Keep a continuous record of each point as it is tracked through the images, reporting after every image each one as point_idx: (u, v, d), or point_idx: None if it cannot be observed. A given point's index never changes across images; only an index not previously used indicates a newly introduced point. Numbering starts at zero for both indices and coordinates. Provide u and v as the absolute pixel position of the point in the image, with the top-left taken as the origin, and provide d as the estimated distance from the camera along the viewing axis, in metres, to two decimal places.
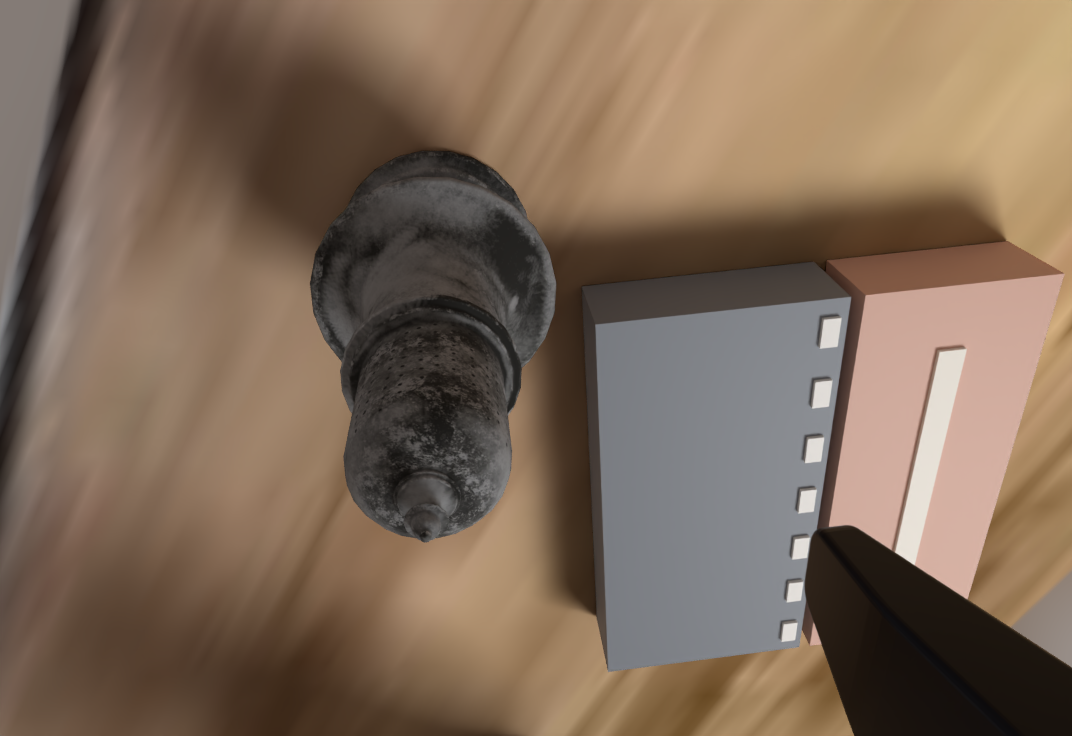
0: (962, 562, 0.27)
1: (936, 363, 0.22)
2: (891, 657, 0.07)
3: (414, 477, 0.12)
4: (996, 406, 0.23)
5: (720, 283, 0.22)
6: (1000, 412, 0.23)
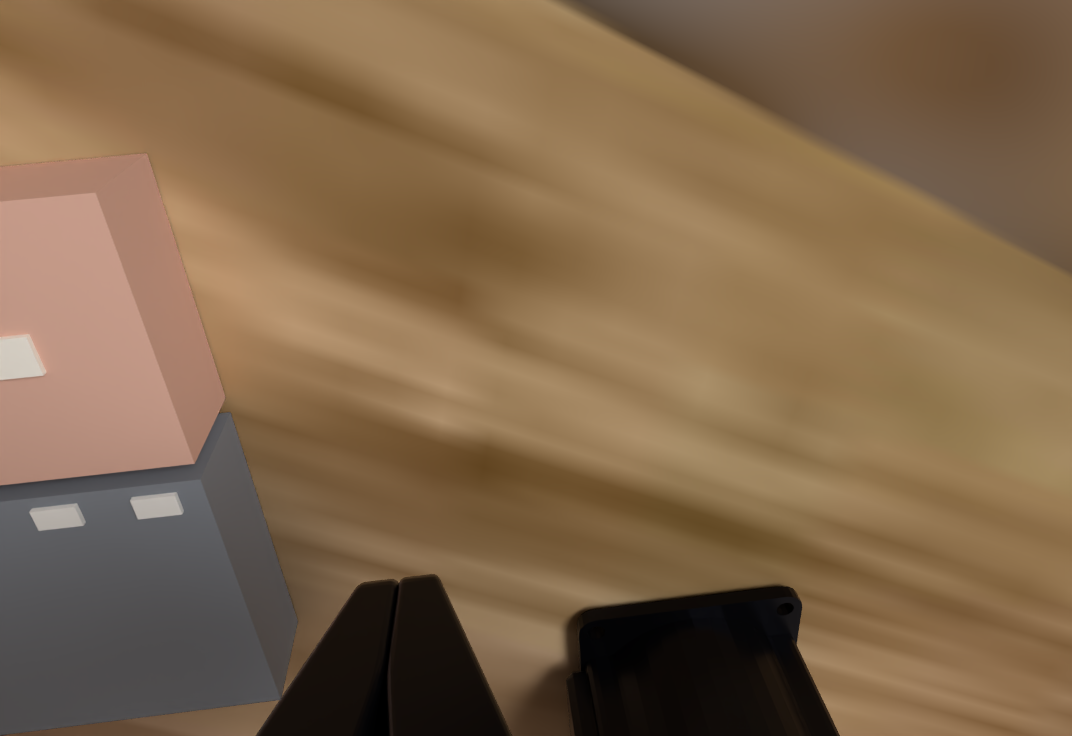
0: None
1: None
2: None
3: None
4: None
5: None
6: None
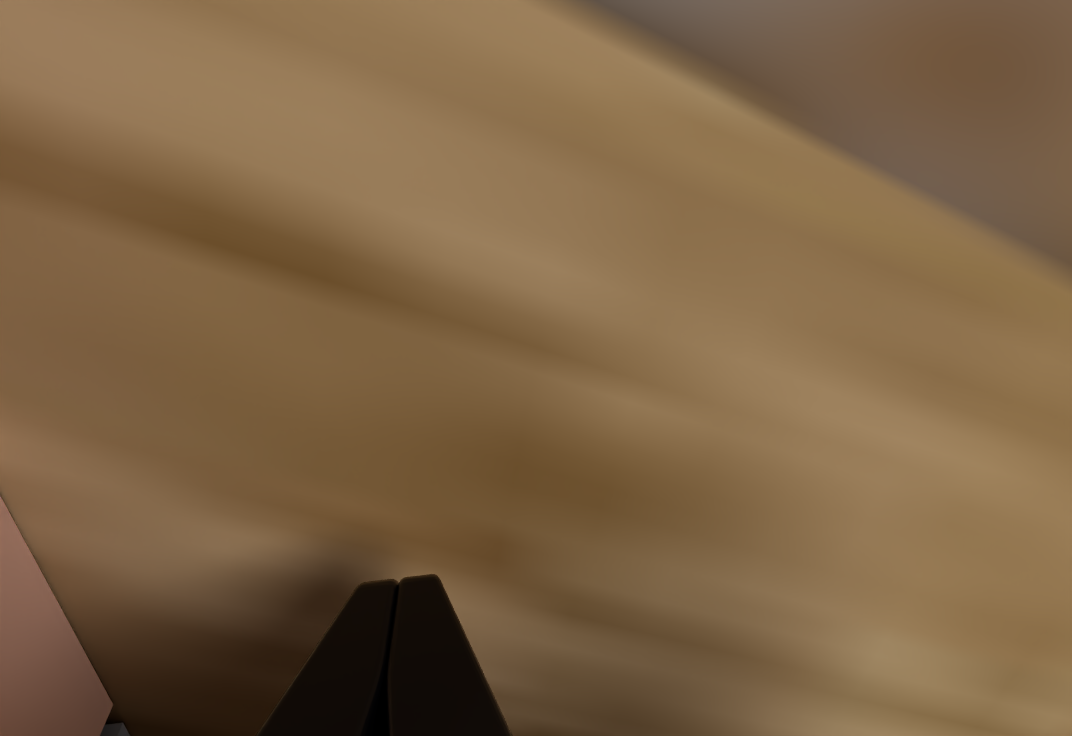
0: None
1: None
2: None
3: None
4: None
5: None
6: None
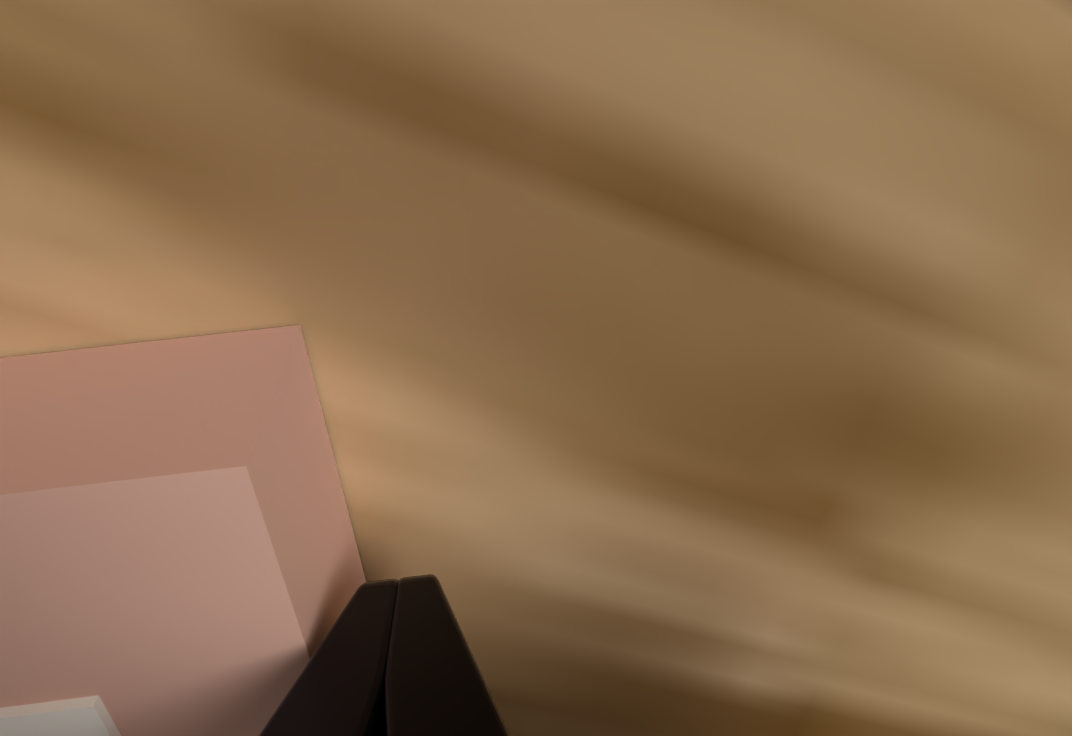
0: None
1: None
2: None
3: None
4: None
5: None
6: None
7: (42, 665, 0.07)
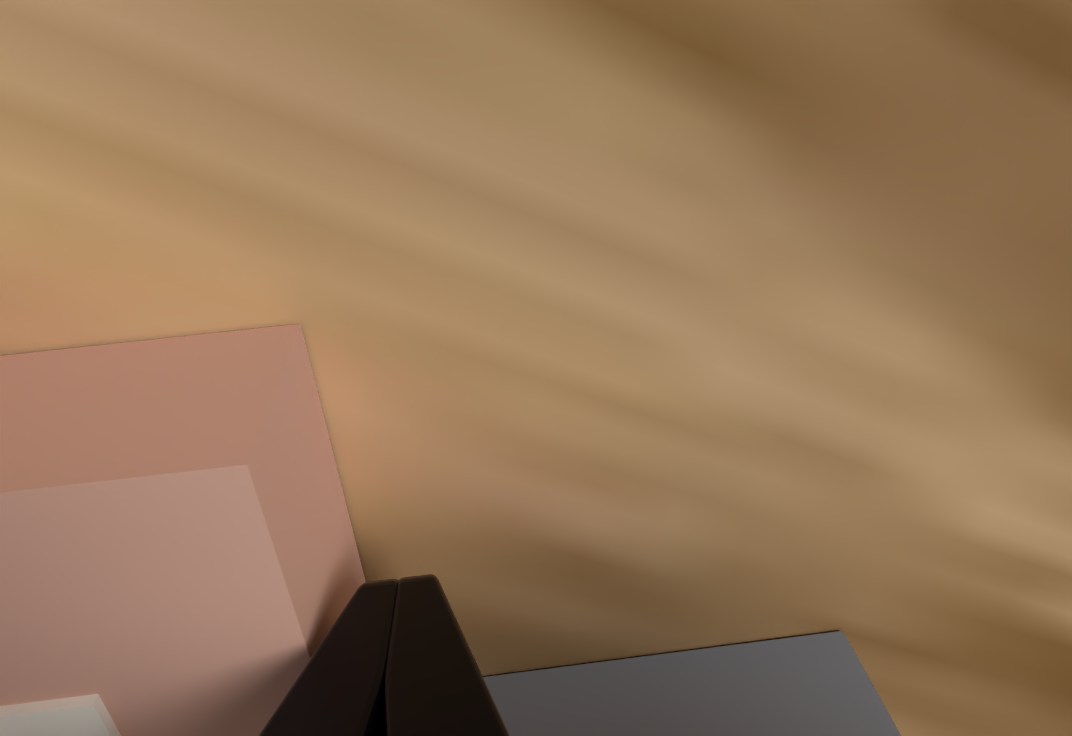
0: None
1: None
2: None
3: None
4: None
5: None
6: None
7: (42, 663, 0.07)
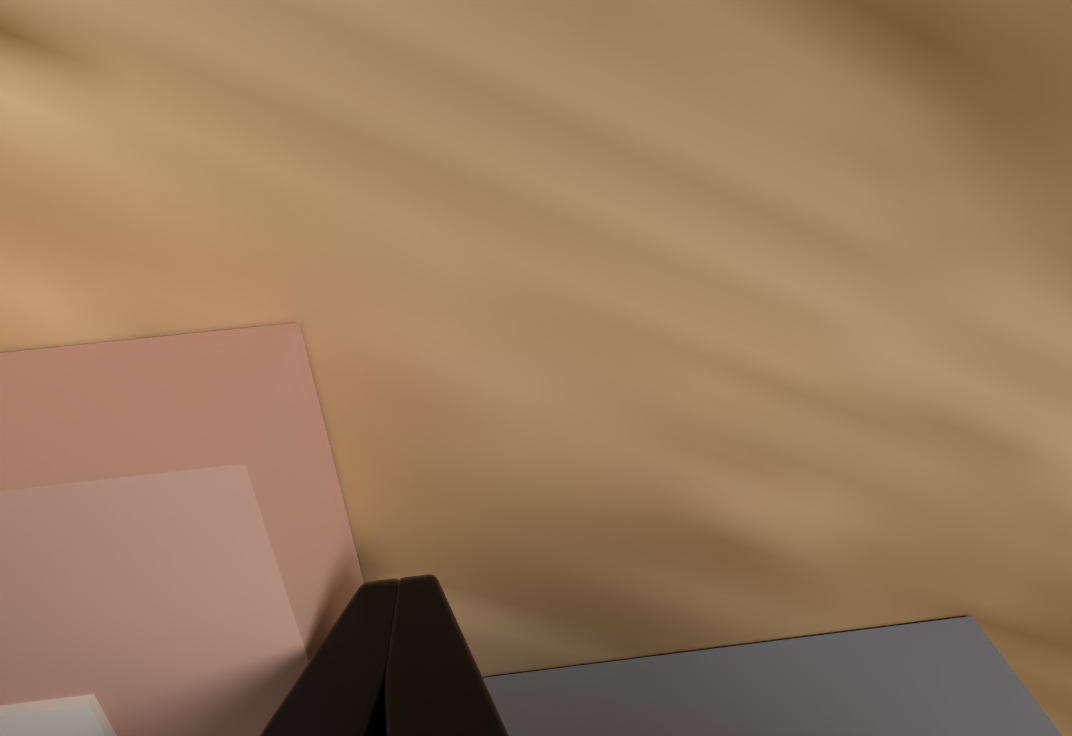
0: None
1: None
2: None
3: None
4: None
5: None
6: None
7: (38, 663, 0.07)
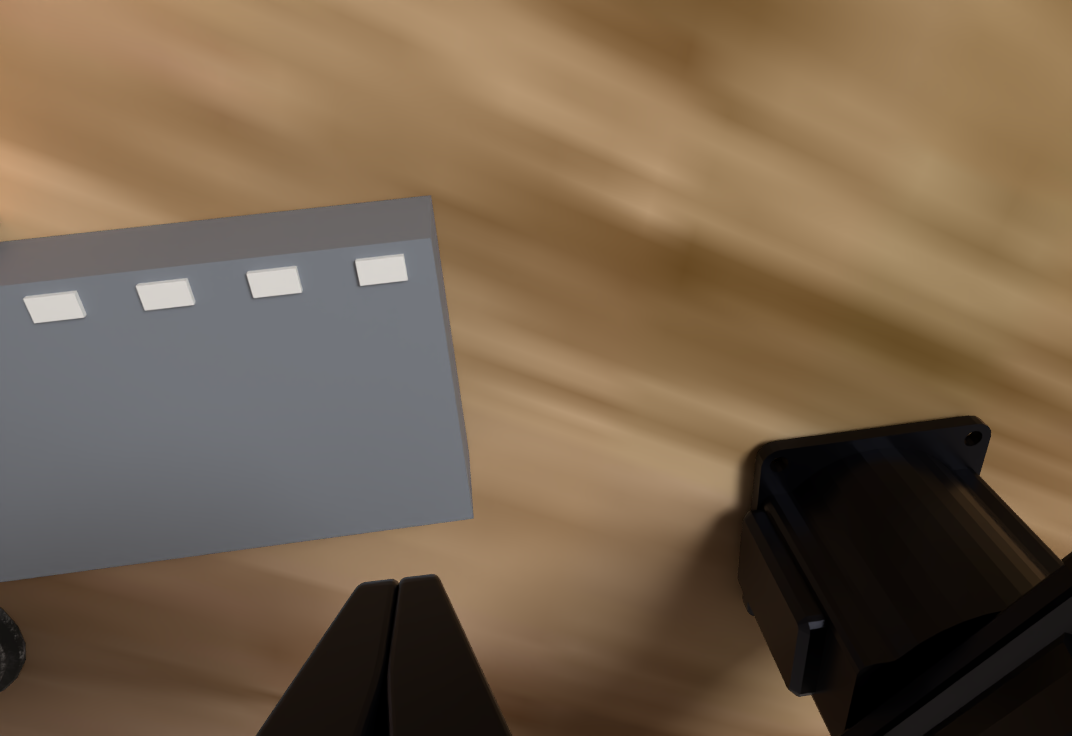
0: None
1: None
2: None
3: None
4: None
5: None
6: None
7: None
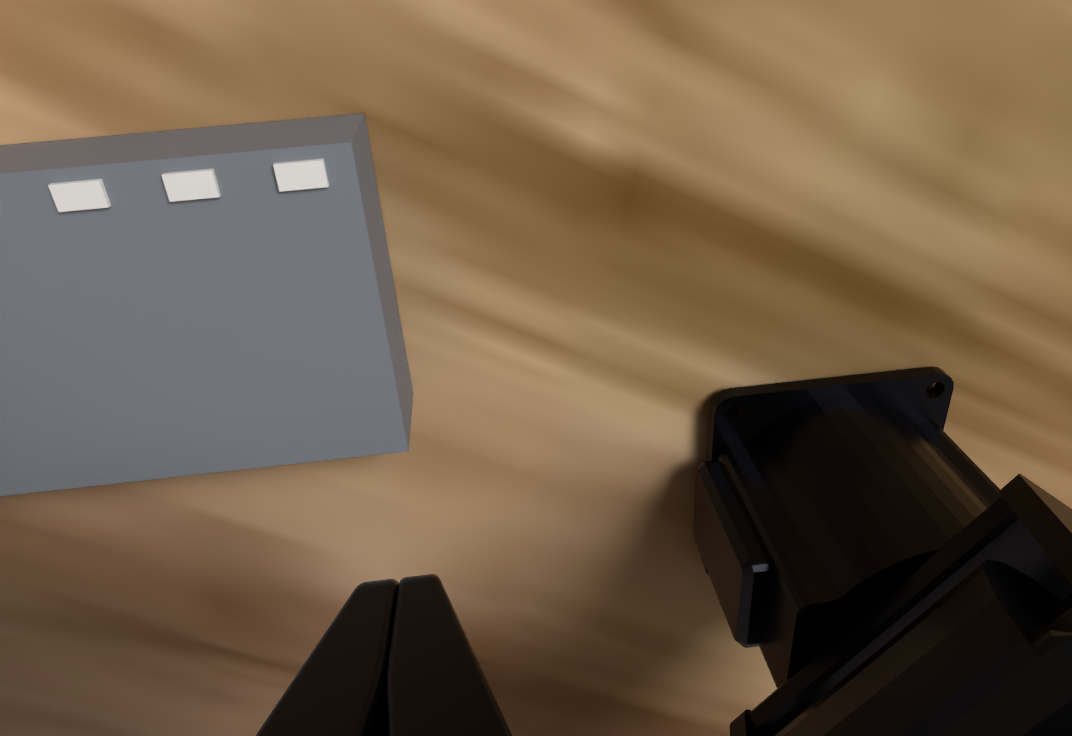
0: None
1: None
2: None
3: None
4: None
5: None
6: None
7: None
